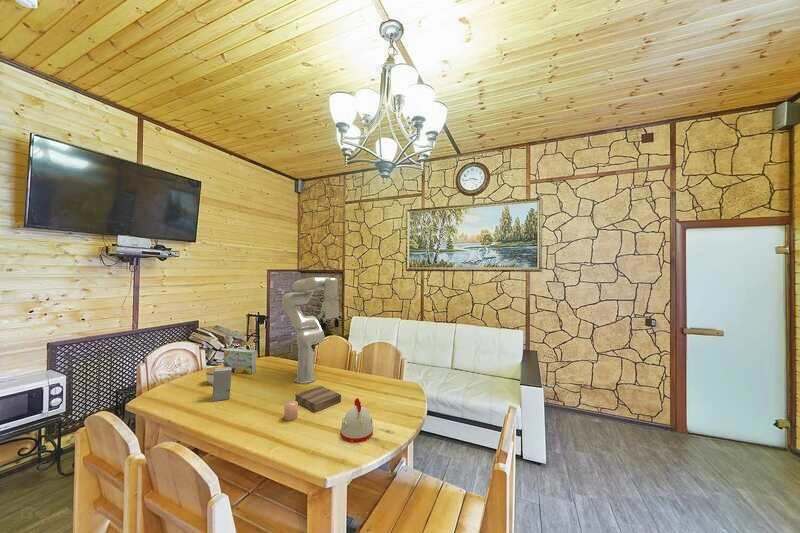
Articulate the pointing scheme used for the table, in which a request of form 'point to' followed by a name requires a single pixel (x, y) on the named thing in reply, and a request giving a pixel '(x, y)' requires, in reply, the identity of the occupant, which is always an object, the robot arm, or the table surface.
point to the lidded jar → (210, 375)
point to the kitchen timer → (357, 424)
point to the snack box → (240, 360)
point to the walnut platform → (318, 398)
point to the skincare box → (221, 383)
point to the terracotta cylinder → (290, 410)
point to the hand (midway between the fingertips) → (330, 328)
